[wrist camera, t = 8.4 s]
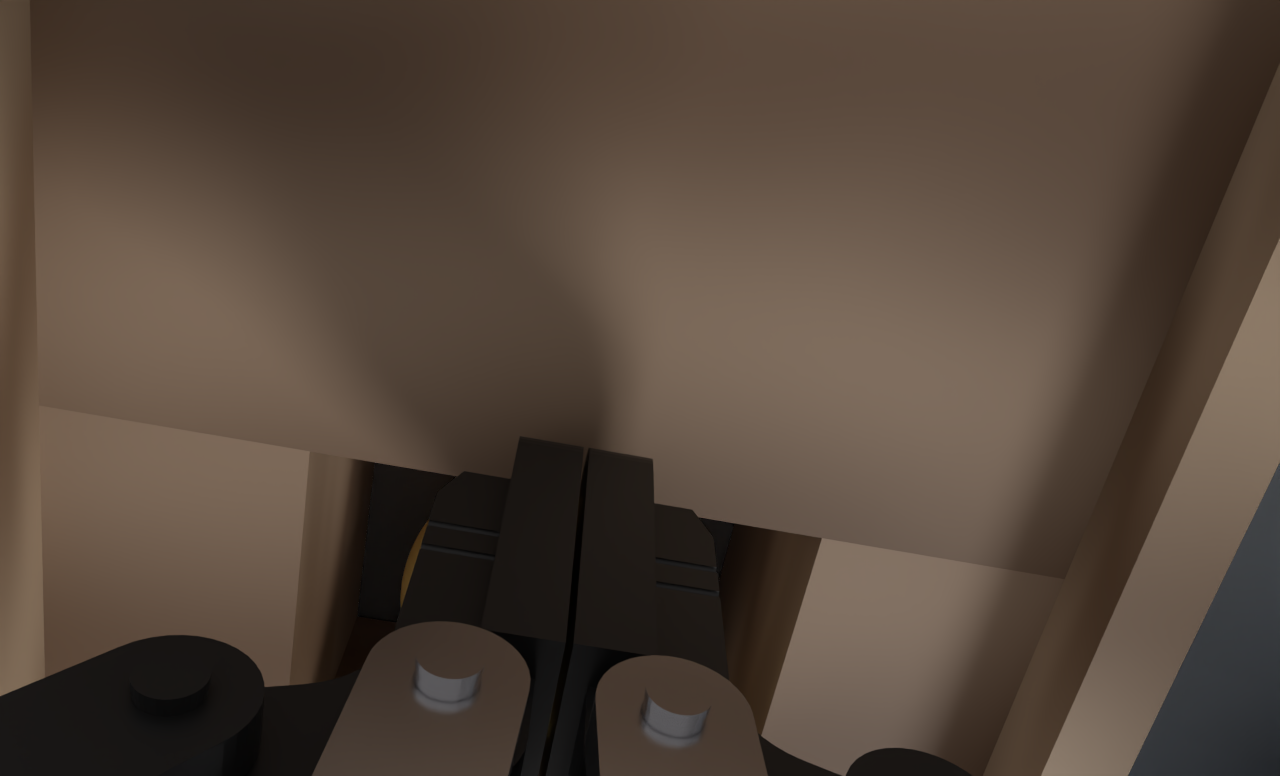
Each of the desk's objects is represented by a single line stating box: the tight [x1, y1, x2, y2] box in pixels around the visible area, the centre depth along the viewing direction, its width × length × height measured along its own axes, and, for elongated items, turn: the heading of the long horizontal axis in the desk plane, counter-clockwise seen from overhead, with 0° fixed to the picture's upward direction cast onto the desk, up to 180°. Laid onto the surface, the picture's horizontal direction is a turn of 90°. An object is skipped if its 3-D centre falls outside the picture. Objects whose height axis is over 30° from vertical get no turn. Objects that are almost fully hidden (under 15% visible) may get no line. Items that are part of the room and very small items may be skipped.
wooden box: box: [0, 0, 1280, 776], centre depth 15 cm, size 20×14×6 cm
